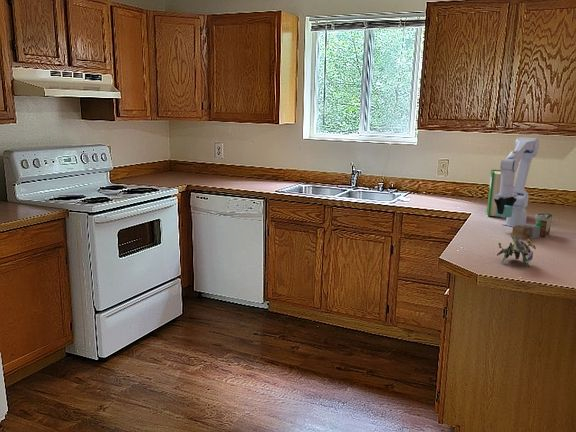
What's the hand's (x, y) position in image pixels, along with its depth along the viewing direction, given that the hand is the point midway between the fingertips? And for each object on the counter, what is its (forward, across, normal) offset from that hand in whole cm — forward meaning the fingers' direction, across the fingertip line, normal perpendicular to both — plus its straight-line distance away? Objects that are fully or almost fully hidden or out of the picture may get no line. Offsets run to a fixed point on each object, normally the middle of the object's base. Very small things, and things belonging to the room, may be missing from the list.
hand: (503, 213), depth 242 cm
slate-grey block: (+8, +2, -14) cm, 16 cm away
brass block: (+8, -5, -13) cm, 16 cm away
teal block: (+1, 0, 0) cm, 1 cm away
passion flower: (+9, -45, -38) cm, 60 cm away
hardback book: (+9, +32, +28) cm, 43 cm away
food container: (+9, +8, -14) cm, 18 cm away
